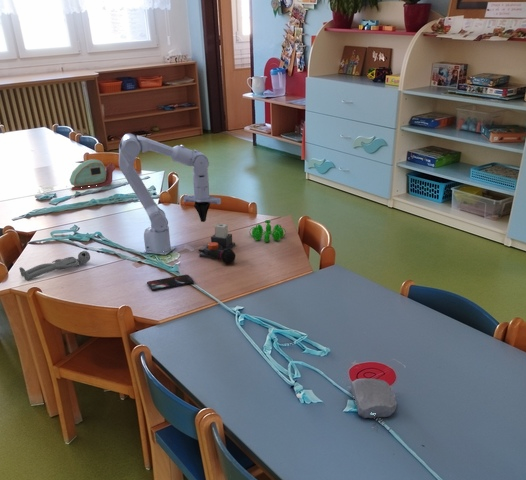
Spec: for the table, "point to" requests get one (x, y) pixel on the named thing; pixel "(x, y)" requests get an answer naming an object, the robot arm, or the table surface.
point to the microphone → (222, 255)
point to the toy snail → (91, 175)
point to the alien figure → (55, 265)
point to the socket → (222, 240)
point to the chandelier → (267, 232)
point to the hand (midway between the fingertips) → (203, 221)
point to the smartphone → (170, 282)
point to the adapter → (205, 255)
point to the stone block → (373, 397)
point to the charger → (221, 230)
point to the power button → (213, 245)
